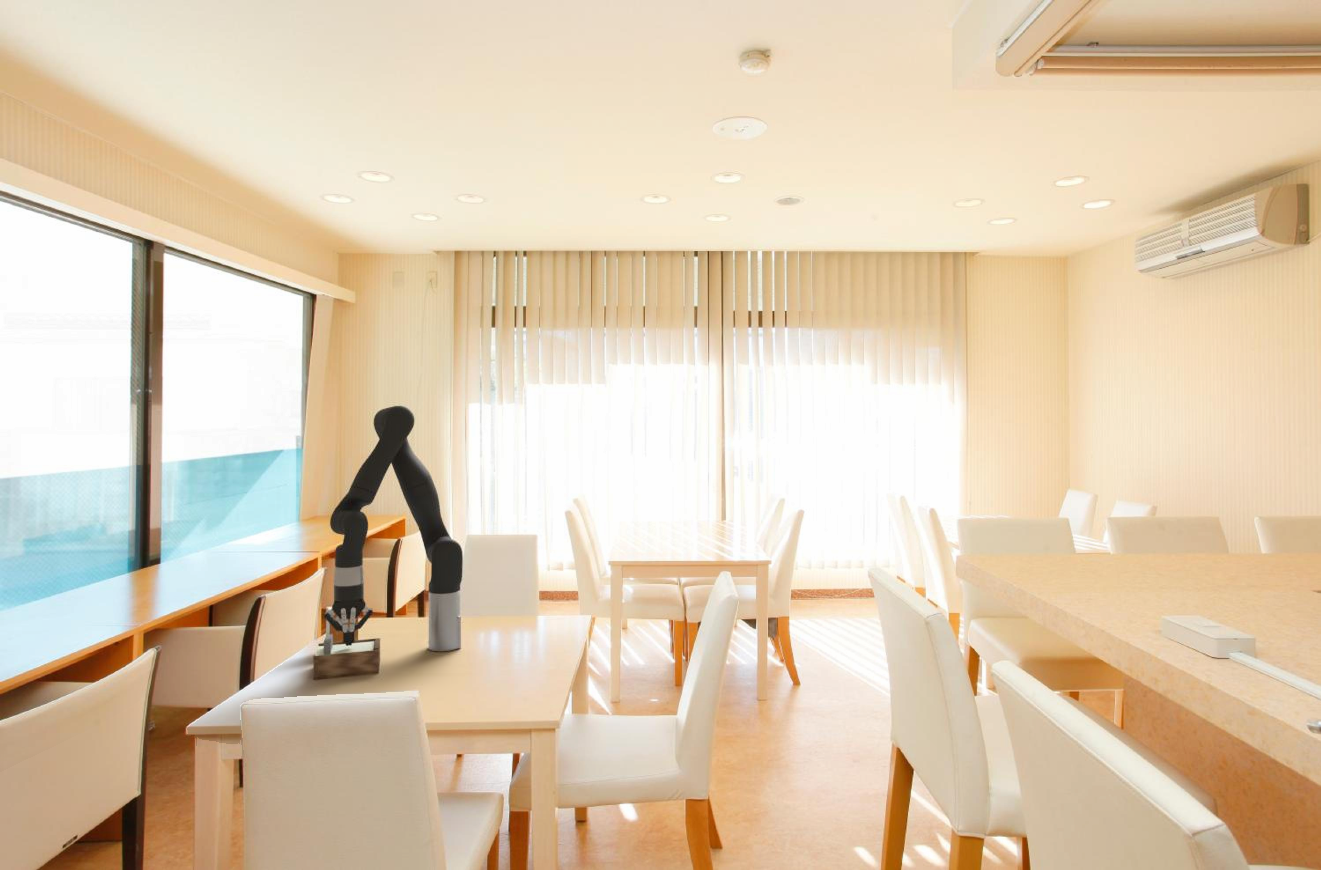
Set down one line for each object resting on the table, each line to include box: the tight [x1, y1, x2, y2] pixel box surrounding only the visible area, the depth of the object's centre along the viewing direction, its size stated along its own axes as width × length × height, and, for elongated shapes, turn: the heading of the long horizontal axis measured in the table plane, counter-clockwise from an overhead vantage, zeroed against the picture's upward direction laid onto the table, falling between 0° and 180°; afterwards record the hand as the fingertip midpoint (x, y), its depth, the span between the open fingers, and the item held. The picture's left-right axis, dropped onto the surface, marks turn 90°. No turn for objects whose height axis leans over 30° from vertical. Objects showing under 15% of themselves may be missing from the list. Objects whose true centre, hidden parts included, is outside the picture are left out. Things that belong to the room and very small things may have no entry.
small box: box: [325, 606, 359, 642], centre depth 214 cm, size 8×6×13 cm
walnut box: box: [313, 637, 381, 680], centre depth 197 cm, size 16×12×6 cm
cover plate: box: [314, 634, 374, 656], centre depth 196 cm, size 14×11×4 cm
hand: (348, 644), depth 197 cm, fingers closed
